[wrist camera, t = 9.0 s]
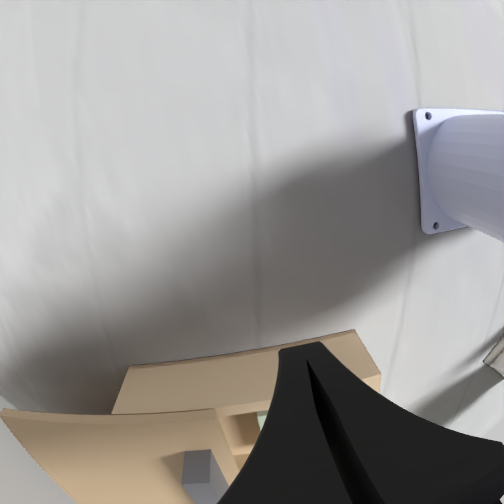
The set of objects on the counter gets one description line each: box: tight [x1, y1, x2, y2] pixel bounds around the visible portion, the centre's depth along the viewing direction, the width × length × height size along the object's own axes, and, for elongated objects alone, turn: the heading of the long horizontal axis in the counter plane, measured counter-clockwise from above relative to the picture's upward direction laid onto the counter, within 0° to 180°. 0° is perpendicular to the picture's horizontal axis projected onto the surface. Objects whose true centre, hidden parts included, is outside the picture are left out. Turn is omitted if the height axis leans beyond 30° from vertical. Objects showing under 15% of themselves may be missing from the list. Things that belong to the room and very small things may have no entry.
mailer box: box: [111, 329, 381, 471], centre depth 21 cm, size 16×12×5 cm
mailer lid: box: [0, 408, 240, 504], centre depth 17 cm, size 16×12×3 cm
